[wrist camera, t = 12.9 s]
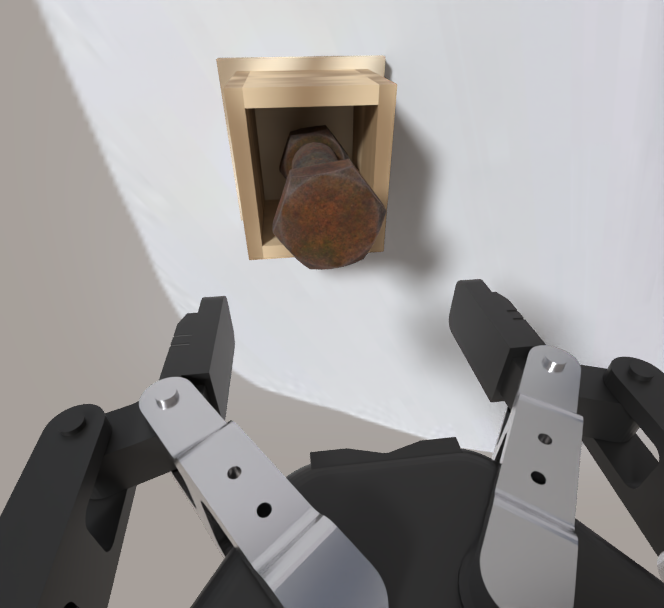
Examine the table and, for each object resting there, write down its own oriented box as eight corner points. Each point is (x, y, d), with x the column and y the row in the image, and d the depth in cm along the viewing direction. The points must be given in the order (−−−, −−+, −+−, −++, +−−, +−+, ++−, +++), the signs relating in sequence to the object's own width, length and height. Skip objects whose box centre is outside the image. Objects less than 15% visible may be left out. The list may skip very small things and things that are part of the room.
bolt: (325, 189, 33) (353, 285, 21) (268, 169, 32) (264, 260, 20) (352, 120, 30) (402, 186, 18) (290, 95, 29) (301, 148, 17)
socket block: (381, 55, 29) (420, 68, 21) (372, 208, 36) (399, 259, 28) (218, 58, 28) (196, 72, 20) (242, 214, 35) (232, 270, 27)
